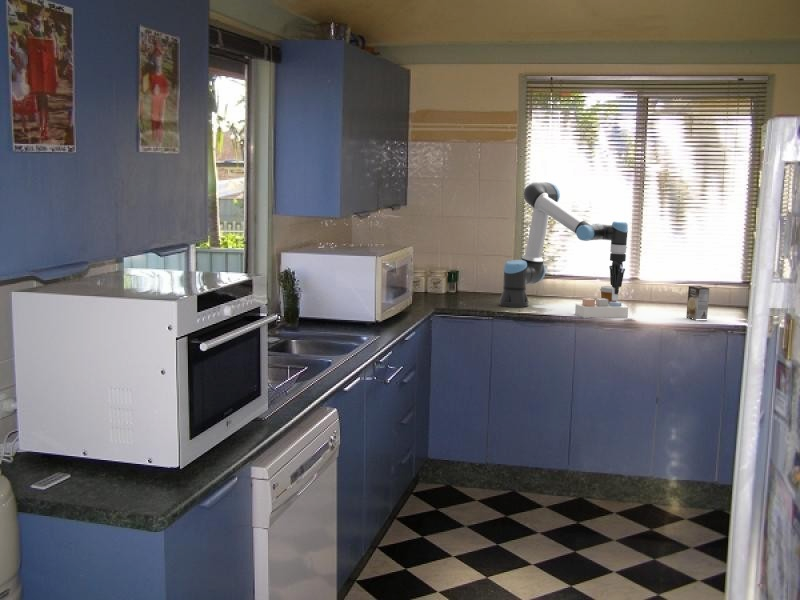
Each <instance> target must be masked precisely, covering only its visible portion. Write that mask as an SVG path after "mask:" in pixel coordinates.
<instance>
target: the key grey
mask: <svg viewBox="0 0 800 600" xmlns="http://www.w3.org/2000/svg"><path fill="white" fill-rule="evenodd" d="M595 304H596V306H599V307H601V306H608V299H605V298H597V297H596V298H595Z"/></svg>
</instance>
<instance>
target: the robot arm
mask: <svg viewBox="0 0 800 600" xmlns="http://www.w3.org/2000/svg"><path fill="white" fill-rule="evenodd" d="M560 194H561V193H560V190H559V188H558V187H557V185H555V184H554V183H552V182H546V181H545V182H531V183H528V184H527V186H526V187H525V188H524V191H523V198H524V201H525V202H526V204H528V205H529V206H530V207H531V209H532V215H531V222H530V226H529V232H528V237H527V243H526V248H525V254H523V255H522V256H521V259H512V260H507V261H506V262H505V263H504V268H503V290H502V293H501V295H500V298H499V300H498V301H499V302H498V303H499V304H500V305H499V304H498V305H499V306H501V305H503V306H502V307H506V306H509V307H508V308H525V307H524V306H527V307H529V300H528V296H527V292H526V291H527V290H526V287H527V285H528V284H529V285H531V284H532V285H533V284H537V283H539V282H541V281H542V280H543V279H544V278H545V275H546V266H545V264H544V259H543V258H542V255H543V252H544V251H543V249H544V244H545V240H546V235H547V234H546V233H547V230H548V222H549V217H550V218H552V219H554V220H555V221H556V222H558V223H559V224H561V225H562V226H564V227H566V228H567V229H568V230H570V231H571V232H572V233H574V234H576V237H577V238H578V239H579V240H580V241H583V242H588V241H599V240H600V241H601V240H604V241H611V242H610V249H609V250H610V255H609V260H610V261H611V262H612V263H611V265H609V277H610V279H609V281H610V283H609V284H610V286H611V287H613V288H612V301H616V302H619V290H620V288H622V285H623V280H624V274H625V271H626V268H623V262H626V259H627V254H626V253H627V248H628V246H627V241H628V234H629V233H628V232H629V230H628V229H629V227H628V226H629V224H628V222H626V221H613V222H612V224H602V223H592V224H590V223H588V222H587V221H586V220H584V219H582V218H581V217H580V216H578V215H576V214H575V213H573V212H572V211H570V210H569V209H567V208H566V207H565V206H563V205H561V204H560V203H558V202H559V200H560V198H561V197H560V196H561V195H560Z"/></svg>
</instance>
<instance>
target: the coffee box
mask: <svg viewBox="0 0 800 600" xmlns="http://www.w3.org/2000/svg"><path fill="white" fill-rule="evenodd" d="M710 289H711V288H710V287H706V286H701V285H689V286H688V290H687V291H688V292H687V293H688V294H687V303H686V315H685V316H686V317H689V318H693V319H707V320H708V311H709V310H708V309H709V299H710V298H709V297H710ZM689 318H688V319H689ZM693 319H692V320H693Z"/></svg>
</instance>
